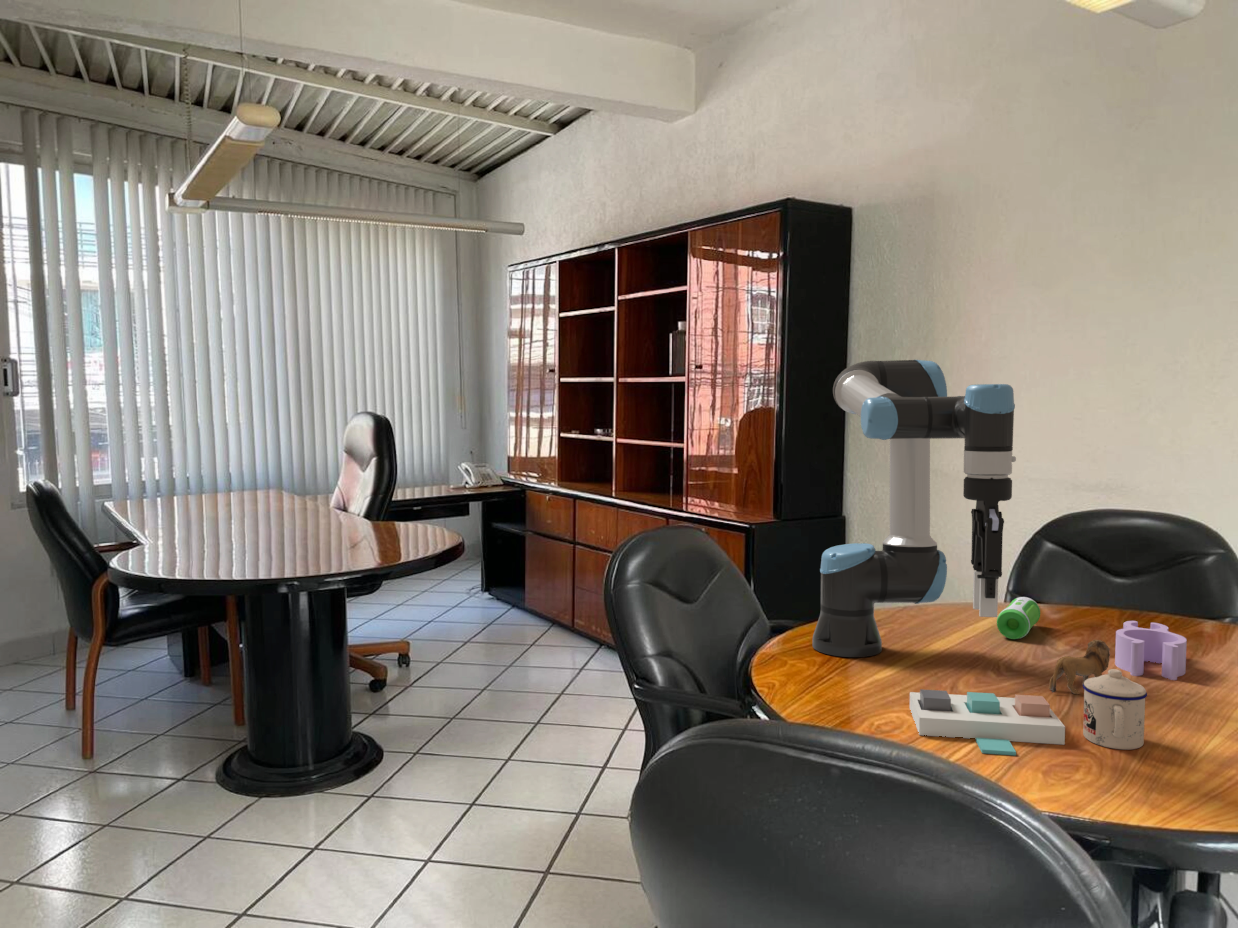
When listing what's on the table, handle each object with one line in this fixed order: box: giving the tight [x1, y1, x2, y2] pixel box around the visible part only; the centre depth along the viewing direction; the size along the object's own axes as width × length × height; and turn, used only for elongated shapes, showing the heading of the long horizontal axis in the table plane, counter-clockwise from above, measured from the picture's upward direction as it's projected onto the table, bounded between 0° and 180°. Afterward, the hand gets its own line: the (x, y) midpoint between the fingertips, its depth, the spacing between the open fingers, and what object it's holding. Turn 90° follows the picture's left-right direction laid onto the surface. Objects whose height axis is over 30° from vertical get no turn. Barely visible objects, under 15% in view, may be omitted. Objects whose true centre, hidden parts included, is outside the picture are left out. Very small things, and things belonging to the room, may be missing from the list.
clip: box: [1114, 620, 1188, 681], centre depth 182 cm, size 20×12×7 cm, turn 154°
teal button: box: [966, 691, 1000, 714], centre depth 148 cm, size 4×4×3 cm
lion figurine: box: [1048, 639, 1111, 695], centre depth 166 cm, size 15×5×9 cm, turn 116°
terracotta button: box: [1014, 694, 1051, 717], centre depth 147 cm, size 4×4×3 cm
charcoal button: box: [919, 688, 951, 712], centre depth 150 cm, size 4×4×3 cm
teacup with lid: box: [1082, 668, 1148, 751], centre depth 140 cm, size 12×9×12 cm
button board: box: [909, 691, 1066, 746], centre depth 149 cm, size 13×22×3 cm, turn 78°
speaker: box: [996, 596, 1041, 640], centre depth 208 cm, size 18×7×8 cm, turn 145°
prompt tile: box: [975, 738, 1017, 757], centre depth 139 cm, size 5×5×1 cm
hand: (984, 612), depth 147 cm, fingers open, 4 cm apart
